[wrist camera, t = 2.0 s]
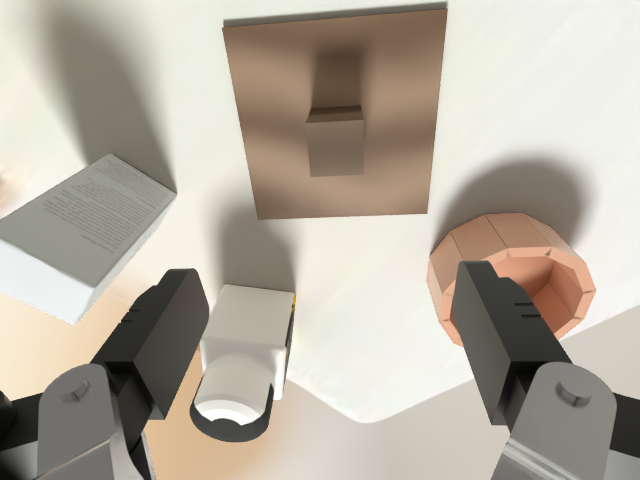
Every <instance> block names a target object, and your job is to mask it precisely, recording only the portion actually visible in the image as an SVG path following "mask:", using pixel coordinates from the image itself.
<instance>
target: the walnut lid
mask: <svg viewBox="0 0 640 480" xmlns="http://www.w3.org/2000/svg"><path fill="white" fill-rule="evenodd" d="M447 10H448V9H437V10H426V11H414V12H402V13H390V14H378V15H366V16H354V17H343V18H331V19H319V20H307V21H295V22H283V23H272V24H260V25H248V26H236V27H224V28H222V31H223V36H224V41H225V47H226V52H227V57H228V63H229V68H230V73H231V79H232V84H233V89H234V94H235V100H236V105H237V110H238V116H239V121H240V126H241V131H242V137H243V142H244V147H245V153H246V158H247V163H248V169H249V174H250V179H251V184H252V190H253V195H254V200H255V206H256V211H257V216H258V220H263V219H291V218H319V217H348V216H376V215H404V214H427V210H428V200H429V190H430V180H431V170H432V160H433V150H434V140H435V130H436V120H437V110H438V100H439V90H440V80H441V70H442V60H443V50H444V40H445V30H446V20H447Z"/></svg>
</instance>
